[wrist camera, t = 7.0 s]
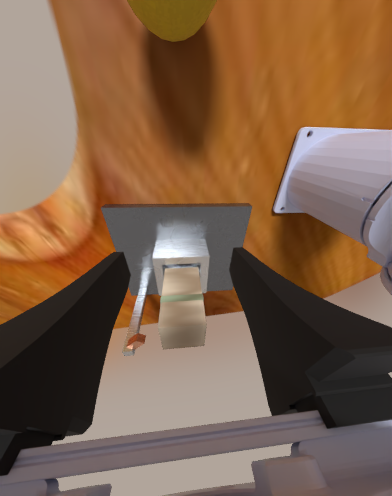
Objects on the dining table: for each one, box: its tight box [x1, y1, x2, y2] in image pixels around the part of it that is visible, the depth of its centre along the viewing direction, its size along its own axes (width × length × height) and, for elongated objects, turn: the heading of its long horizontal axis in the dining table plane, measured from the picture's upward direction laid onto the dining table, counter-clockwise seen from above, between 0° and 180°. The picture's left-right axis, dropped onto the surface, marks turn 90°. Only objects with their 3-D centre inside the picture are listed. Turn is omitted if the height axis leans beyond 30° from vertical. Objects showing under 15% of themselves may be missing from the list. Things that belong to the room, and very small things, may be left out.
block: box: [158, 267, 206, 349], centre depth 14 cm, size 4×4×6 cm
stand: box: [101, 203, 252, 356], centre depth 17 cm, size 16×14×9 cm
